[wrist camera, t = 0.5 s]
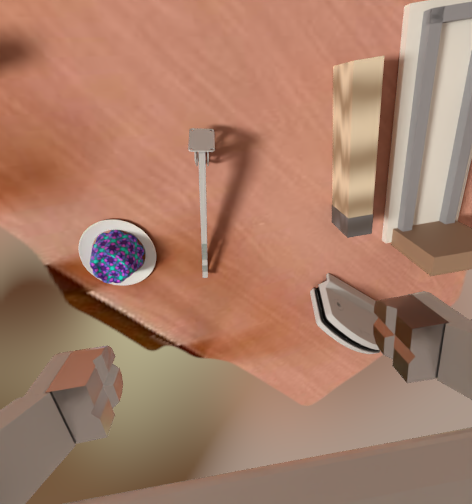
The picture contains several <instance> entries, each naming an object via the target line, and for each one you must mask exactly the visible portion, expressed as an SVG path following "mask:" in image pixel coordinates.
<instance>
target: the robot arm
mask: <svg viewBox="0 0 472 504" xmlns="http://www.w3.org/2000/svg"><path fill="white" fill-rule="evenodd" d="M374 313H375V314H376V316H377V317H378V319H377V320H376V322H375V323H374V324H373V335H374V338H375V342H376V344H377V346H378V348H379V350H380V351H381V352H382V353H383V355H385V356H387V357H389V358H391V359H393V367H394V368H395V369H396V370H397V372H398V373H399V374H400V375H401V377H402V378H403V379H404V380H405V381H406V382H407V383H411V382H418V381H424V380H431V379H437V380H438V381H440V382H441V383H443V384H445V385H447V386H449V387H450V388H452V389H454V390H455V391H457V392H459V393H461V394H463V395H464V396H466V397H468V398H470V399H471V400H472V319H471V320H469V319H467V318H466V317H464V316H463V315H461V314H460V313H459V312H457V311H455V310H454V309H453V308H451V307H450V306H448V305H447V304H445V303H444V302H443V301H441V300H440V299H438V298H437V297H435V296H434V295H432V294H431V293H429V292H425V291H423V292H418V293H413V294H408V295H405V296H400V297H394V298H389V299H383V300H378V301H376V302H375V305H374ZM114 358H115V355H114V353H113V350H112V348H111V347H109V346H103V347H96V348H89V349H82V350H76V351H69V352H63V353H58V354H56V355H54V356H53V357H52V358H51V360H50V361H49V362H48V364H47V365H46V367H45V368H44V370H43V371H42V372H41V374H40V375H39V376H38V378H37V379H36V380H35V382H34V383H33V384H32V386H31V387H30V389H29V390H28V391H27V393H26V394H25V396H24V397H21V398H17V399H15V400H14V401H13V402H11V403H10V404H8V405H7V406H5V407H4V408H3V409H1V410H0V504H25V503H26V502H27V501H28V500H29V499H30V497H31V496H32V495H33V494H34V493H35V492H36V491H37V489H38V488H39V487H40V486H41V484H43V482H44V481H45V480H46V479H47V478H48V477H49V476H50V474H51V473H52V472H53V471H54V470H55V469H56V467H57V466H58V465H59V464H60V463H61V462H62V461H63V459H64V458H65V457H66V456H67V455H68V453H69V452H70V451H71V450H72V449H73V448H74V447H75V444H76V443H81V442H86V441H91V440H96V439H100V438H105V437H107V436H108V433H109V431H110V428H111V425H112V422H113V419H114V416H115V414H114V412H113V407H114V406H116V405H117V404H118V403H119V401H120V398H121V394H122V388H123V381H122V374H121V372H120V369H119V368H118V367H117V366H115V365H114V364H112V363H113V361H114ZM65 504H472V427H471V428H466V429H460V430H455V431H450V432H445V433H439V434H433V435H428V436H423V437H418V438H412V439H407V440H401V441H396V442H391V443H386V444H380V445H375V446H369V447H364V448H358V449H353V450H348V451H342V452H337V453H332V454H326V455H322V456H316V457H310V458H305V459H300V460H294V461H289V462H284V463H279V464H273V465H268V466H262V467H257V468H251V469H246V470H241V471H235V472H230V473H225V474H219V475H214V476H209V477H203V478H198V479H193V480H187V481H182V482H177V483H171V484H166V485H161V486H155V487H150V488H145V489H139V490H134V491H129V492H123V493H118V494H113V495H107V496H102V497H97V498H91V499H86V500H81V501H76V502H70V503H65Z"/></svg>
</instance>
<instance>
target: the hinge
mask: <svg viewBox="0 0 472 504" xmlns="http://www.w3.org/2000/svg"><path fill="white" fill-rule="evenodd" d="M326 277H327V281H325V282H323V283H321V284H319V287H318V289H319V290H318V289H314V288H313V289H312V290H311V292H310V294H311V299H312V304H313V309H314V314H315V319H316V323H317V325H318V326H319V327H320V328H321V329H322V330H323V331H324V332H326V333H327V334H328V335H329V336H330V337H332V338H333V339H335V340H336V341H337V342H339V343H341V344H342V345H344V346H346V347H348V348H350V349H352V350H354V351H357V352H361V353H366V354H375V353H379V352H380V350H379V348H378V346H377V344H376V342H375V338H374V335H373V324H374V323H375V322H376V320H377V319H378V317H377V316H376V314H375V313H374V305H375V302H376V301H375V300H373V299H372V298H370V297H368V296H367V295H365V294H363V293H362V292H360V291H358V290H356V289H355V288H353V287H351V286H350V285H348V284H346V283H345V282H343V281H341V280H339V279H338V278H336V277H334V276H333V275H331V274H329V273H327V274H326Z"/></svg>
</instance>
